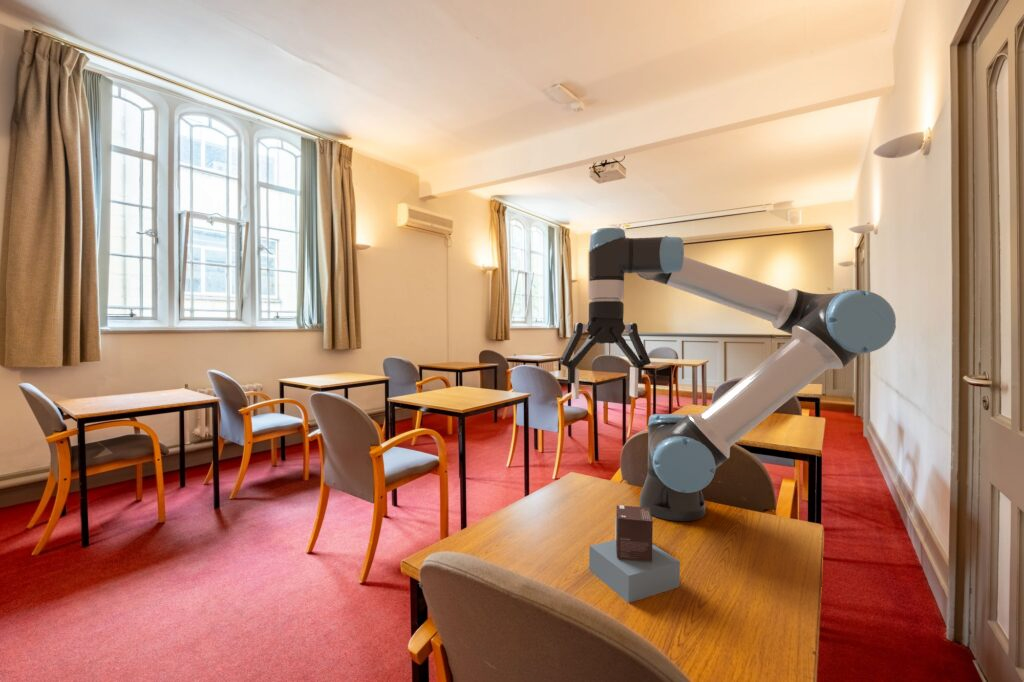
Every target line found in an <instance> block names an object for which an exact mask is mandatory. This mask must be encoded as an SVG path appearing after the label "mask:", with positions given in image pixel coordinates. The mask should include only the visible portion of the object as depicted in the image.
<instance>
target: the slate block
mask: <svg viewBox="0 0 1024 682" xmlns="http://www.w3.org/2000/svg"><path fill="white" fill-rule="evenodd" d="M588 557H589V558H588V559H589V560H588V561H589V563H588V564H589V567H588V570H589V571H590V573H592V574H593V575H595V576H596V577H597V578H598V579H599V580H600V581H601V582H602V583H604V584H605V585H606V586H607V587H608V588H610V589H611V591H613V592H615V594H617V596H619V597H620V598H622V600H624V601H625V602H627V603H628V604H629V603H632V602H636V601H640V600H642V599H643V600H644V599H646V598H648V597H652V596H655V595H658V594H661V593H663V592H664V593H665V592H668V591H671V590H674V589H677V588H680V579H681V578H680V577H681V576H680V574H681V573H680V571H681V570H680V569H681V568H680V567H681V560H678V559H677V558H675V557H674V556H672V555H671V554H669V553H668V552H666V551H664V550H663V549H661V548H659V547H658V546H657V545H655V544H654V543H652V562H645V561H637V560H625V559H618V558H617V553H616V540H615V539H613V540H609V541H605V542H600V543H596V544H595V543H594V544H592V545H589V556H588Z"/></svg>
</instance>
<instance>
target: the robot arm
mask: <svg viewBox="0 0 1024 682" xmlns="http://www.w3.org/2000/svg"><path fill="white" fill-rule="evenodd" d="M684 245H685V244H684V240H683V239H682V237H679V236H668V235H665V236H658V237H657V236H656V237H653V236H652V237H635V238H634V237H627V236H626V232H625V230H624V229H622V228H619V227H603V228H602V227H601V228H597V229H595V230H593V231H592V232H591V234H590V239H589V250H588V257H589V258H588V264H589V265H588V271H589V275H588V279H589V280H588V299H589V300H591V301H590V302H589V303H588V322H587V323H586V324H585V323H582V322H575V323H574V325H573V332H572V335H571V337H570V338H569V340H568V343H567V344H566V346H565V349H564V351H563V353H562V355H561V357H560V359H559V361H558V363H559V364H560V365H562V366H564V367H566V368H567V382H568V383H569V384H571V398H573V399H574V400H579V399H580V398H579V397H580V381H579V380H580V368H578V367H577V366H578V365H579V363H581V361H582V360H583V358H584V357H585V356H586V355H587V353H589V351H590V350H591V349H592V348H593V346H595V345H596V344H615V345H616V346H618V348H619V349H620V350H621V352H622V353H623V354H624V355H625V356H626V358H627V359H628V361H629V362H630V363H631V364H632V366H630V367H629V393H628V394H629V396H630V397H632V398H638V397H639V396H638V395H639V383H642V379H643V368H645V366H647V365H651V359H650V356H649V354H648V353H647V350H646V348H645V346H644V343H643V341H642V339H641V337H640V335H639V330H638V324H637V323H636V322H634V323H633V322H628V323H626V324H625V323H624V313H625V312H624V311H625V310H624V309H625V308H624V306H625V305H624V303H623V301H622V300H623V299H624V298H625V274H637V275H638V277H640V278H641V279H643V280H647V281H654V282H655V283H656V282H657V283H660V284H664V285H666V286H669V287H672V288H675V289H678V290H680V291H683V292H686V293H689V294H691V295H694V296H697V297H700V298H703V299H706V300H708V301H710V302H711V301H712V302H713V303H714V302H715V303H717V304H720V305H722V306H724V307H725V306H726V307H728V308H731V309H733V310H737V311H740V312H742V313H745V314H748V315H751V316H753V317H756V318H759V319H762V320H765V321H767V322H771V324H772V326H773V328H775V329H776V330H779V331H782V332H785V333H787V334H789V335H791V337H790V339H789V340H787V341H786V342H785V343H784V344H782V346H780V347H779V348H777V350H775V351H774V352H773V353H772V354H771V355H769V356H768V357H767V358H766V359H765V360H763V361H762V362H760V364H758V365H757V366H756V367H755V368H754V369H752V370H751V371H750V372H749V373H748V374H746V375H745V376H744V377H742V379H740V380H739V381H738V382H737V383H736V384H734V385H733V386H732V387H731V388H730V389H728V390H726V392H725V393H723V394H722V395H721V396H719V398H717V399H716V400H715V401H714V402H713V403H711V405H709V406H708V407H707V408H705V410H703V411H702V412H701V413H700V414H694V413H688V414H676V413H675V414H671V413H654V414H651V415H650V416H649V418H648V424H647V429H648V431H647V432H648V433H647V434H648V435H647V437H648V439H647V440H648V441H647V442H648V443H647V475H646V477H645V480H644V483H643V486H642V488H641V491H640V493H639V507H649V508H650V511H651V515H652V517H656V518H659V519H662V520H667V521H675V522H689V521H691V522H692V521H697V520H700V519H702V518H704V517H705V515H706V502H705V501H706V500H705V499H704V494H703V492H702V490H703V489H705V488H706V487H707V486H708V485H710V483H711V482H712V480H713V479H714V476H715V473H716V470H717V468H719V467H720V466H721V465H723V463H724V462H726V461H727V460H728V459H730V454H731V452H730V451H731V447H732V446H733V445H734V444H735V443H736V442H738V441H739V440H741V438H743V437H744V436H746V435H747V434H748V433H749V432H751V431H752V430H753V429H754V428H755V427H756V426H758V425H759V424H760V423H762V422H763V421H764V420H765V419H767V418H768V417H769V416H771V415H772V414H773V413H774V412H776V411H777V410H778V409H779V408H780V407H782V406H783V405H784V404H786V403H787V402H788V401H789V400H791V399H792V398H793V397H794V396H796V395H797V394H798V393H799V392H800V391H802V390H803V389H804V388H805V387H807V386H808V385H809V384H810V383H812V382H813V381H815V379H817V378H818V377H819V376H820V375H821V374H823V373H824V372H825V371H826V370H832V369H833V370H841V369H843V368H844V367H845V366H847V365H848V364H849V363H851V362H852V361H853V360H854V359H856V358H857V357H858V356H859V355H861V354H862V355H863V354H870V353H872V352H875V351H878V350H880V349H881V348H883V347H885V346H886V345H887V344H888V343H889V342H890V340H891V339H892V338H893V337H894V334H895V331H896V329H897V326H896V325H897V324H896V321H897V317H896V313H895V311H894V309H893V307H892V306H891V304H890V303H889V302H888V301H887V300H886V298H884V297H883V296H881V295H879V294H878V293H875V292H873V291H870V290H860V289H849V290H848V289H847V290H845V291H842V292H841V291H840V292H834V293H812V292H808V291H807V292H806V291H803V290H799V289H797V288H791V289H788V290H785V289H782V288H779V287H776V286H773V285H770V284H767V283H765V282H761V281H758V280H754V279H752V278H748V277H747V276H743V275H740V274H738V273H734V272H731V271H727V270H725V269H722V268H720V267H716V266H713V265H710V264H707V263H705V262H701V261H698V260H697V259H693V258H689V257H686V256H685V248H684V247H685V246H684ZM586 331H587V332H588V334H589V335H588V337H586V339H585V341H584V343H583V344H582V345H581V346H580V348H579V349H578V350H577V351H576V353H574V351H575V349H576V347H577V345H578V343H579V341H580V340H581V338H582V335H583V334H584V333H585V332H586ZM624 331H625V332H626V333H627V334H628V338H629V340H630V341H631V344H632V345H633V348H634V350H635V352H636V353H635V352H634V350H633V349H632V348H631V347H630V346H629V344H628V343H627V340H626V339H625V338H624V337H623V335H622V334H623V333H624ZM573 353H574V355H573ZM636 354H637V355H636Z"/></svg>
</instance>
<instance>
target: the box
mask: <svg viewBox="0 0 1024 682" xmlns="http://www.w3.org/2000/svg"><path fill="white" fill-rule="evenodd" d="M615 508H616V512H615V513H616V516H615V517H616V553H617V558H618V559H625V560H637V561H645V562H652V544H653V534H654V533H653V525H654V522H653V521H654V519H653V515H651V511H650V508H649V507H640V506H633V505H616V507H615Z"/></svg>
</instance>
